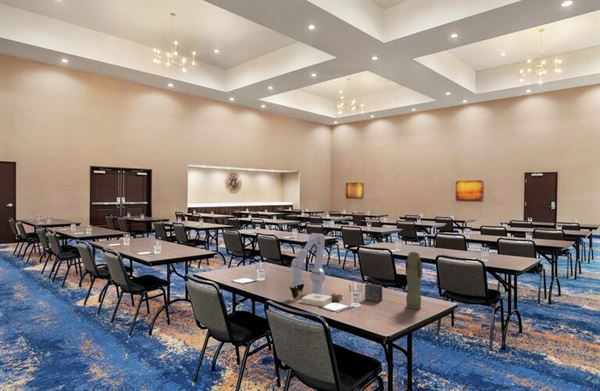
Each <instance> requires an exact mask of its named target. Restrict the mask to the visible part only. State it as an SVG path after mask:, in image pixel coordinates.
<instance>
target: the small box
mask: <svg viewBox="0 0 600 391" xmlns="http://www.w3.org/2000/svg"><path fill="white" fill-rule="evenodd" d="M364 301H369V302H373V303H381V302H382V301H383V285H381V284H375V283H367V284H365V285H364Z"/></svg>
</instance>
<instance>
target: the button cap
mask: <svg viewBox="0 0 600 391" xmlns="http://www.w3.org/2000/svg"><path fill="white" fill-rule="evenodd" d="M332 294H333V296H334V297H339V295H340V294H339V293H338V292H332Z"/></svg>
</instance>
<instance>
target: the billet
mask: <svg viewBox="0 0 600 391" xmlns="http://www.w3.org/2000/svg"><path fill="white" fill-rule="evenodd" d="M292 298H293V297H292ZM301 298H302V294H301V290H298V289H297V294H296V298H293V300H297V301H299V300H301Z"/></svg>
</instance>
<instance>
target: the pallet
mask: <svg viewBox="0 0 600 391" xmlns="http://www.w3.org/2000/svg"><path fill="white" fill-rule="evenodd" d="M301 298H302V301H301V303H302V304H306V305H314V306H318V307H319V306H320V307H321V306H324V307H326V306H328V305H329V304H330V303H332V302H333V301H332V296H330V295H326V294H323V295H320V294H314V293H313V292H311V293H308V294H306V295H304V296H302V297H301ZM325 305H326V306H325Z"/></svg>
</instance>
